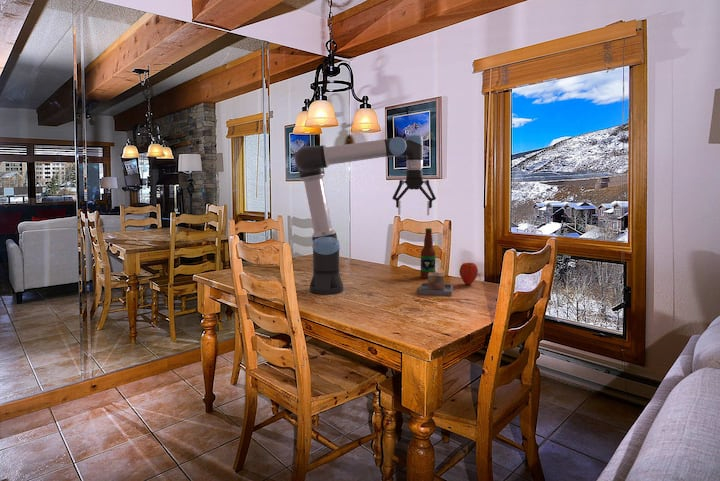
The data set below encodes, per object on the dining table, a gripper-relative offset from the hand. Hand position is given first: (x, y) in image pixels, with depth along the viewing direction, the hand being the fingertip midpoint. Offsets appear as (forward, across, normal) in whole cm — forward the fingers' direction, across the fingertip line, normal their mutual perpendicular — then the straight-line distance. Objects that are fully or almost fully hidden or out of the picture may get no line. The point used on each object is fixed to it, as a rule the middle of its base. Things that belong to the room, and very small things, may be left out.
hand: (413, 215), depth 218 cm
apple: (+33, +26, +2) cm, 42 cm away
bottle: (+33, +6, +14) cm, 36 cm away
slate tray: (+33, +12, -14) cm, 38 cm away
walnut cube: (+32, +12, -14) cm, 37 cm away
